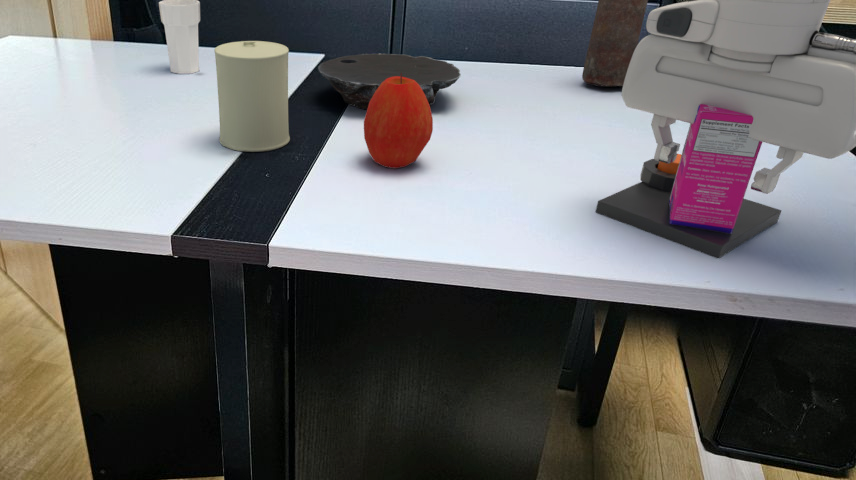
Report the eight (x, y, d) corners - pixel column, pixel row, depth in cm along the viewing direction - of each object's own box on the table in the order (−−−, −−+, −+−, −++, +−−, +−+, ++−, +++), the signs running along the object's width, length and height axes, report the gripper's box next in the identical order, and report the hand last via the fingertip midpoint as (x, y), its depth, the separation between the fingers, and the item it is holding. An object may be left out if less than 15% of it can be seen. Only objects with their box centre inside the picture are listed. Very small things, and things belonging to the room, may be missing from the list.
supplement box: (665, 202, 74) (698, 91, 68) (728, 212, 72) (768, 99, 66) (665, 224, 70) (700, 108, 63) (732, 235, 68) (775, 117, 61)
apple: (442, 165, 86) (452, 75, 80) (390, 180, 82) (397, 86, 76) (398, 146, 92) (404, 61, 86) (347, 158, 88) (351, 70, 82)
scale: (781, 220, 74) (792, 193, 72) (717, 259, 66) (728, 230, 65) (654, 179, 83) (661, 154, 82) (586, 209, 76) (592, 183, 74)
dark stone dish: (299, 85, 116) (299, 53, 113) (421, 76, 121) (424, 45, 119) (345, 127, 98) (346, 90, 95) (486, 114, 104) (491, 78, 101)
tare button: (694, 172, 78) (698, 159, 77) (679, 179, 76) (683, 165, 75) (666, 164, 80) (670, 150, 79) (651, 170, 78) (655, 157, 78)
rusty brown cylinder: (621, 95, 113) (654, -44, 102) (574, 88, 116) (602, -48, 106) (631, 84, 119) (663, -49, 108) (586, 78, 122) (614, -52, 111)
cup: (209, 66, 125) (205, 0, 120) (196, 76, 120) (190, 6, 114) (174, 64, 127) (168, -2, 121) (159, 73, 121) (152, 4, 115)
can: (283, 126, 98) (282, 35, 91) (295, 149, 90) (295, 52, 84) (216, 130, 96) (210, 38, 90) (223, 154, 89) (217, 55, 82)
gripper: (914, 39, 56) (843, 201, 63) (667, 3, 69) (632, 140, 77) (887, 50, 53) (815, 220, 60) (632, 9, 66) (599, 152, 73)
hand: (710, 175), depth 68 cm, fingers open, 8 cm apart
